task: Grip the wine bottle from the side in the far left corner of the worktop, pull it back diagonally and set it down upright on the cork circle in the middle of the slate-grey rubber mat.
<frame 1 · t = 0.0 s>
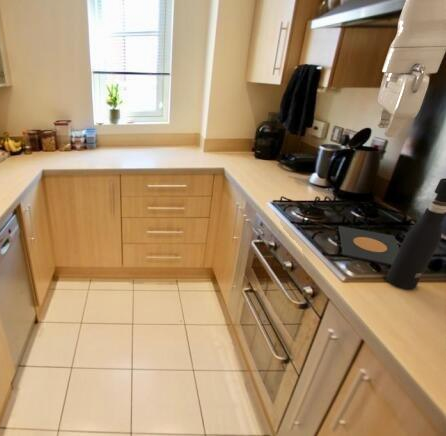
hand: (385, 131, 71), 41 cm above the worktop, tool pointing down, fingers open, 8 cm apart
centre mat: (369, 246, 103), on the worktop
wine bottle: (400, 282, 87), on the worktop
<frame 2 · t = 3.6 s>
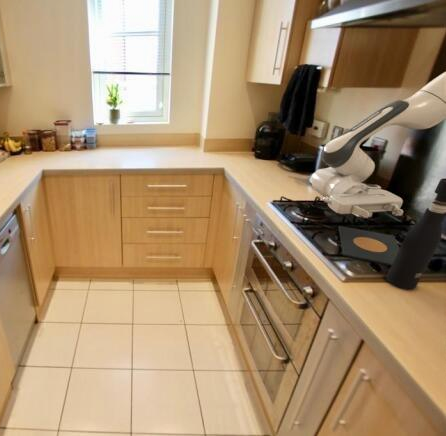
hand: (385, 214, 91), 15 cm above the worktop, tool horizontal, fingers open, 8 cm apart
nothing on the worktop moved.
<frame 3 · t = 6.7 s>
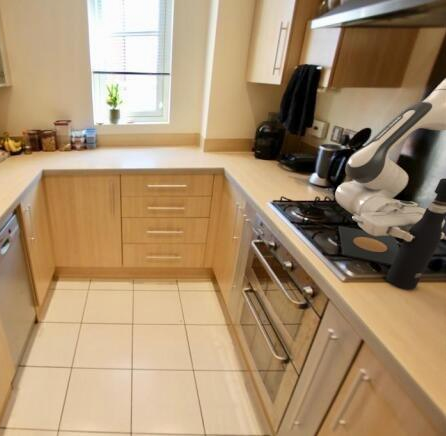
hand: (427, 238, 79), 15 cm above the worktop, tool horizontal, fingers closed on wine bottle, 6 cm apart
wine bottle: (400, 282, 87), on the worktop, touching gripper
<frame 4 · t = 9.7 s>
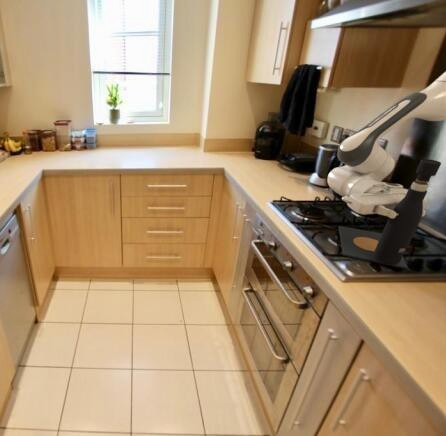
hand: (409, 215, 86), 17 cm above the worktop, tool horizontal, fingers closed on wine bottle, 6 cm apart
wine bottle: (385, 258, 94), point 2 cm above the worktop, touching gripper
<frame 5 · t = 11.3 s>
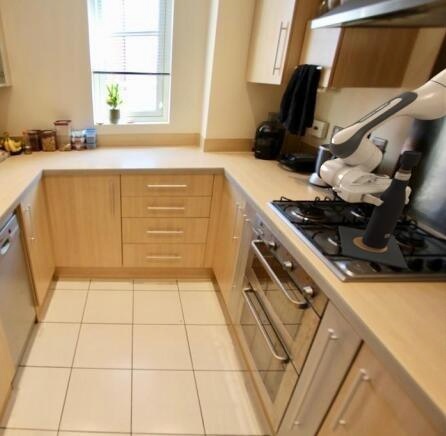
hand: (394, 202, 93), 17 cm above the worktop, tool horizontal, fingers closed on wine bottle, 6 cm apart
wine bottle: (373, 244, 101), point 2 cm above the worktop, touching gripper
when the fingers open (16 cm above the worktop, at t = 12.7 s): wine bottle stays where it is, resting on centre mat.
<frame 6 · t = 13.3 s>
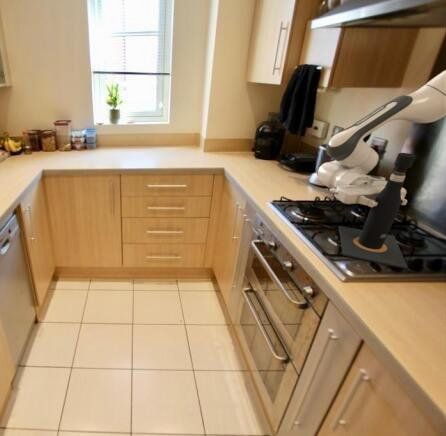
hand: (389, 204, 95), 16 cm above the worktop, tool horizontal, fingers open, 8 cm apart
wine bottle: (369, 244, 103), point 1 cm above the worktop, touching centre mat
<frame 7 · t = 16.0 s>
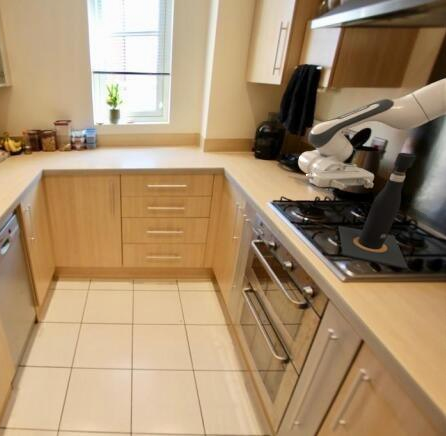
hand: (357, 186, 106), 16 cm above the worktop, tool horizontal, fingers open, 8 cm apart
nothing on the worktop moved.
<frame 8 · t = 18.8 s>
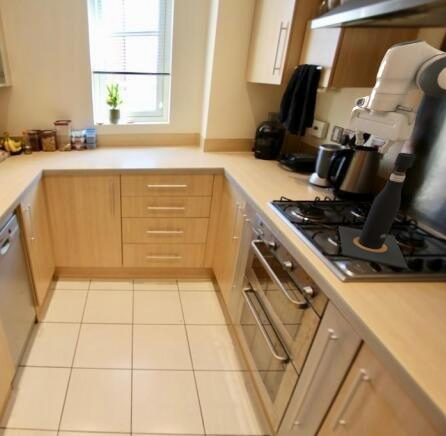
hand: (369, 148, 100), 29 cm above the worktop, tool pointing down, fingers open, 8 cm apart
nothing on the worktop moved.
at the end: wine bottle inside the target area on the centre mat (0.1 cm from its centre), point 0.5 cm above the centre mat's base; wine bottle tilted 0°; the gripper is holding nothing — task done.
